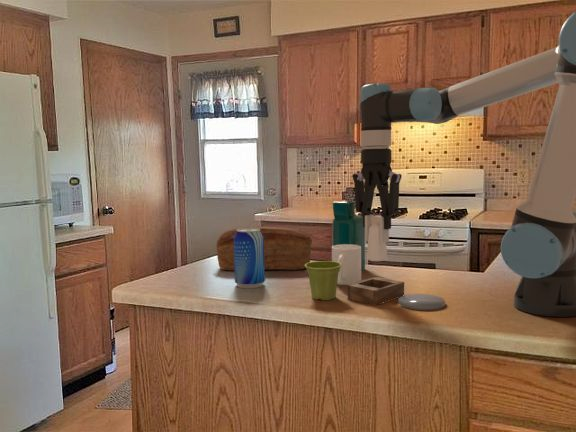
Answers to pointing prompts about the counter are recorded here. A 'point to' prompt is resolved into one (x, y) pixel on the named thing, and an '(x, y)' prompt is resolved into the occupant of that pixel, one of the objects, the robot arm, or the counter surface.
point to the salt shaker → (376, 242)
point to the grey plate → (421, 302)
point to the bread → (270, 248)
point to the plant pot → (323, 278)
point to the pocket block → (375, 290)
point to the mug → (348, 263)
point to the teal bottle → (348, 227)
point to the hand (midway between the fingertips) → (376, 241)
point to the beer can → (249, 258)
